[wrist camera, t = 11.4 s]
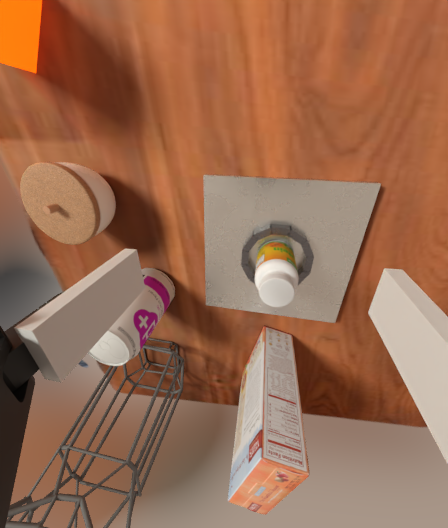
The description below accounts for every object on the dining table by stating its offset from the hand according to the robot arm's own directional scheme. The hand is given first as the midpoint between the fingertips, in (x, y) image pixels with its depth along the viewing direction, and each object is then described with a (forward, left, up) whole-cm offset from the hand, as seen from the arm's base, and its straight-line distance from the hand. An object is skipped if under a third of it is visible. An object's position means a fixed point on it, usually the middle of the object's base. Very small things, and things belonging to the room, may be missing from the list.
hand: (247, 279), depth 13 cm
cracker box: (-4, +30, -22) cm, 38 cm away
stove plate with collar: (-3, +8, -22) cm, 24 cm away
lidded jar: (+26, +1, -22) cm, 34 cm away
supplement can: (+18, +17, -22) cm, 33 cm away
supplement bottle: (-3, +8, -21) cm, 23 cm away
